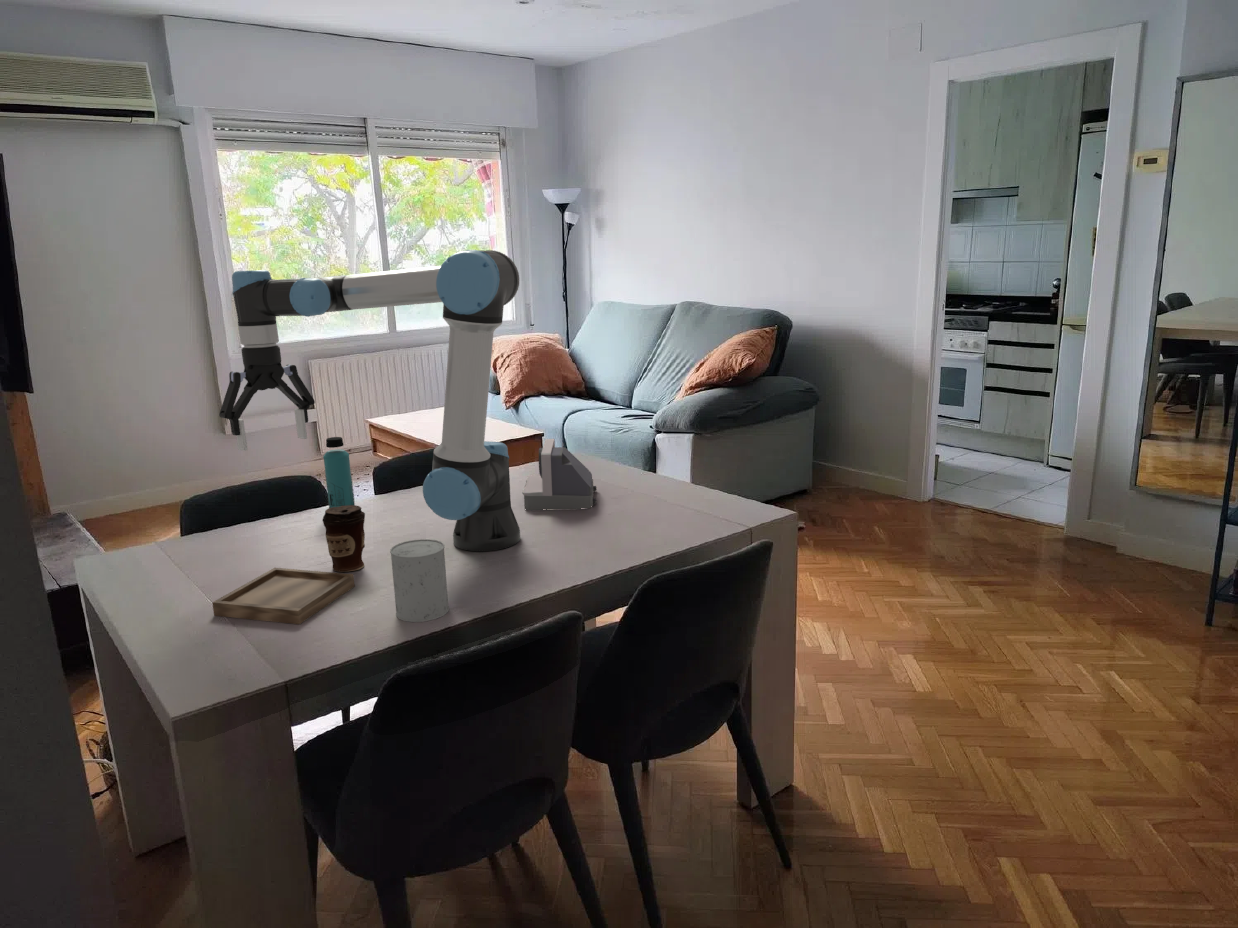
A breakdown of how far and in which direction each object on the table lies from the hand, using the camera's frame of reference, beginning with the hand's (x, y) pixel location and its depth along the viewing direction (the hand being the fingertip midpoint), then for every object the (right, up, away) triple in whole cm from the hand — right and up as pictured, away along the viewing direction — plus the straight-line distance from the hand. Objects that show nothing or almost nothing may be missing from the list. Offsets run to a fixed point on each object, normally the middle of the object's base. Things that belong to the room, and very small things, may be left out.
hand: (273, 444), depth 182 cm
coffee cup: (+18, -26, -5) cm, 32 cm away
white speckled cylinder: (+39, -32, -27) cm, 57 cm away
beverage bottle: (+4, -17, +33) cm, 37 cm away
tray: (+11, -30, -21) cm, 39 cm away
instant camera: (+59, -14, +42) cm, 74 cm away
